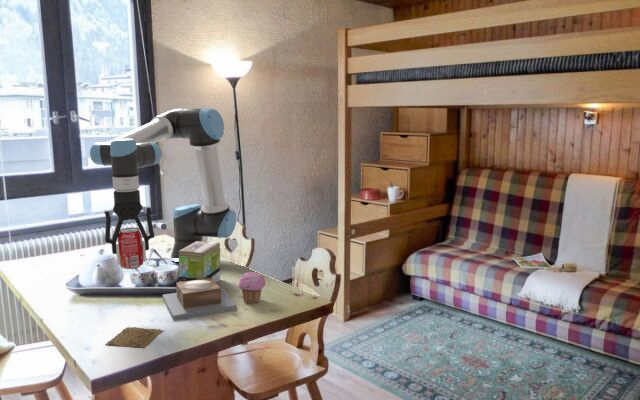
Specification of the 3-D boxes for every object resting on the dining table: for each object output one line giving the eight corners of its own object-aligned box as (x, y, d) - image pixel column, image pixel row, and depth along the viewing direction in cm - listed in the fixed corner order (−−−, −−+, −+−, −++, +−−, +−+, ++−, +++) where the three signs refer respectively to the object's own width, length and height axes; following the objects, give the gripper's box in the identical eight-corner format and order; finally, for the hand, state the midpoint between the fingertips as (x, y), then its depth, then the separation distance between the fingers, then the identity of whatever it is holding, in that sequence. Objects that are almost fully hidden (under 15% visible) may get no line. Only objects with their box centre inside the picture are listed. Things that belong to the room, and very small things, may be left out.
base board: (162, 298, 182) (162, 294, 181) (220, 290, 190) (220, 286, 190) (173, 320, 164) (173, 315, 164) (236, 309, 172) (236, 305, 172)
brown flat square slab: (145, 350, 145) (144, 346, 145) (104, 346, 147) (103, 343, 147) (164, 331, 157) (164, 328, 156) (126, 328, 159) (126, 325, 158)
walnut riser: (176, 296, 179) (175, 281, 179) (212, 291, 184) (211, 276, 184) (183, 309, 169) (182, 293, 168) (221, 303, 174) (220, 287, 173)
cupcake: (242, 296, 184) (241, 268, 182) (267, 296, 184) (266, 268, 182) (237, 305, 175) (236, 276, 174) (263, 306, 175) (262, 277, 173)
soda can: (133, 262, 173) (130, 226, 170) (148, 265, 169) (146, 228, 167) (115, 267, 167) (112, 230, 164) (130, 271, 163) (127, 233, 161)
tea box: (205, 292, 188) (203, 252, 185) (178, 290, 190) (176, 250, 187) (221, 279, 202) (220, 241, 200) (196, 277, 204) (195, 240, 202)
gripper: (91, 194, 156) (98, 269, 160) (162, 189, 164) (166, 261, 168) (90, 190, 162) (96, 262, 167) (158, 185, 171) (162, 254, 175)
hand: (131, 261), depth 168 cm, fingers closed on soda can, 7 cm apart
